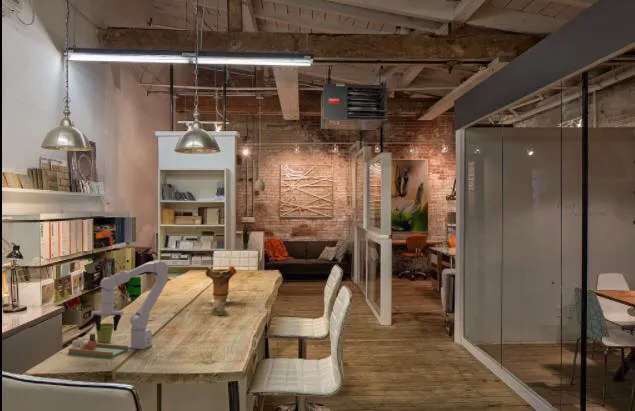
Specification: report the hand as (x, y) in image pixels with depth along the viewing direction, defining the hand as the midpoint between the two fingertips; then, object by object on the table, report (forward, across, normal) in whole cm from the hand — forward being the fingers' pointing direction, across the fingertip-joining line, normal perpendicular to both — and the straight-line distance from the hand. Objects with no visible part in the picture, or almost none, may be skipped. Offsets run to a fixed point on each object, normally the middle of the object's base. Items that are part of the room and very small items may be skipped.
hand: (107, 330), depth 238 cm
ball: (+7, +11, 0) cm, 13 cm away
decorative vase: (+10, -38, -130) cm, 135 cm away
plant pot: (+10, +7, -17) cm, 21 cm away
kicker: (+8, +7, +1) cm, 11 cm away
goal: (+9, +11, -1) cm, 15 cm away
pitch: (+10, +3, +2) cm, 11 cm away
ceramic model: (+10, -42, -88) cm, 98 cm away
